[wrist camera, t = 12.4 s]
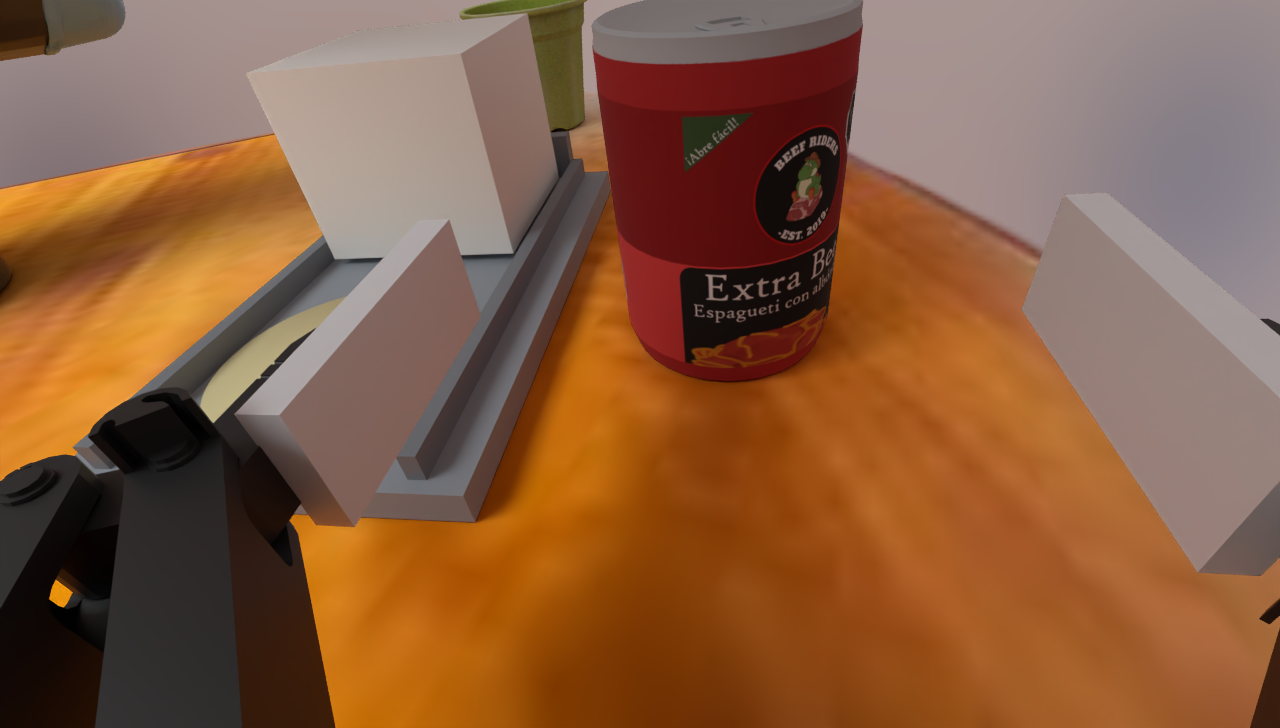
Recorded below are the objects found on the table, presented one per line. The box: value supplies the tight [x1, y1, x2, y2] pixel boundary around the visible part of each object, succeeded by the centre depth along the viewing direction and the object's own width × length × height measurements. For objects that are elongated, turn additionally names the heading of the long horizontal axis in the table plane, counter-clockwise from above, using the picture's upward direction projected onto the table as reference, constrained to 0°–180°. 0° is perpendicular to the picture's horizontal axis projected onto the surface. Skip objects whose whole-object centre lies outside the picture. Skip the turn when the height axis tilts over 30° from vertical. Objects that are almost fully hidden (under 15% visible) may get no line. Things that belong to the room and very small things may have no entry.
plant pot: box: [459, 0, 587, 132], centre depth 45 cm, size 9×9×9 cm
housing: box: [246, 13, 559, 259], centre depth 28 cm, size 9×9×8 cm
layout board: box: [73, 131, 611, 522], centre depth 26 cm, size 24×14×4 cm, turn 173°
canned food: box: [592, 0, 863, 381], centre depth 20 cm, size 8×8×11 cm
